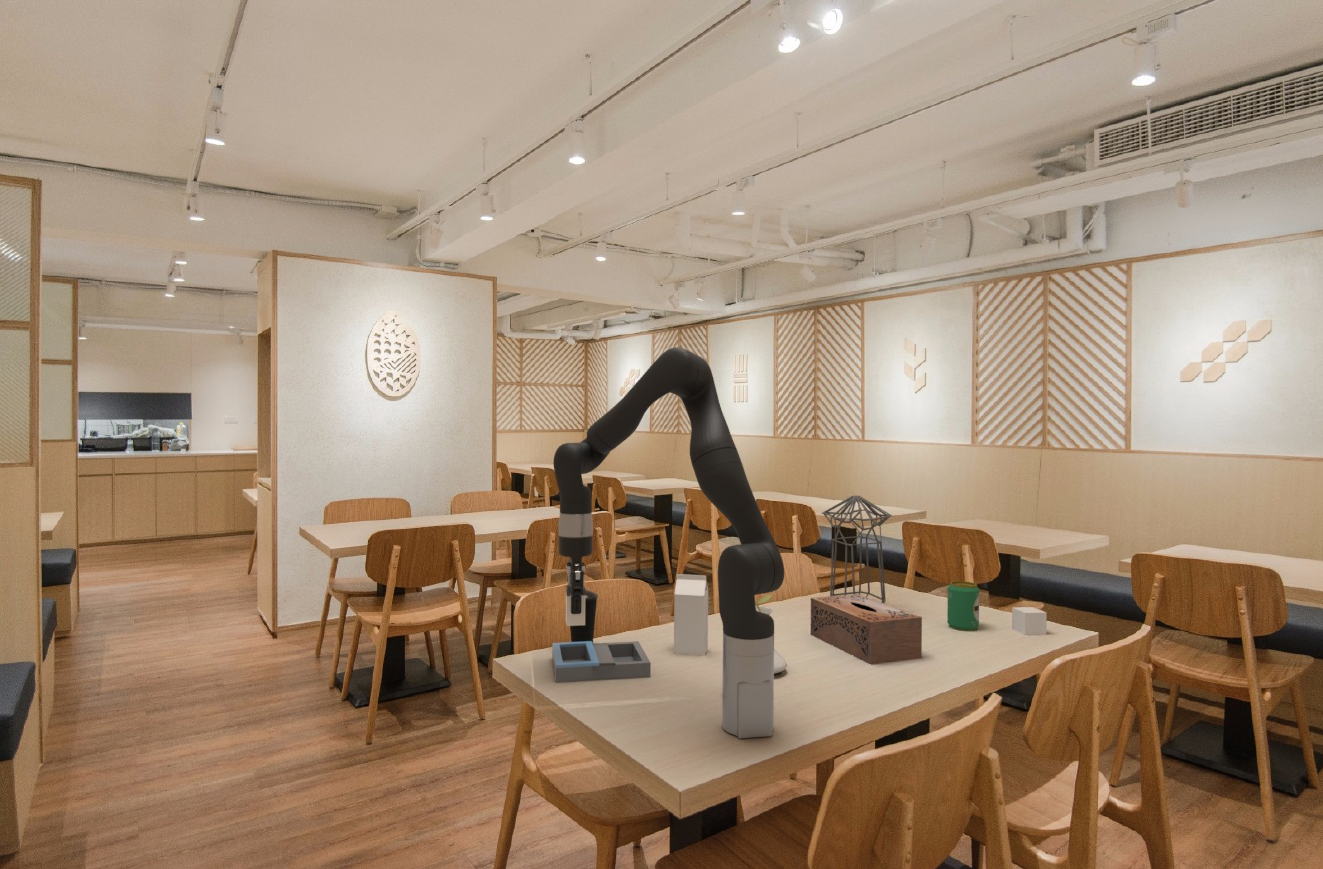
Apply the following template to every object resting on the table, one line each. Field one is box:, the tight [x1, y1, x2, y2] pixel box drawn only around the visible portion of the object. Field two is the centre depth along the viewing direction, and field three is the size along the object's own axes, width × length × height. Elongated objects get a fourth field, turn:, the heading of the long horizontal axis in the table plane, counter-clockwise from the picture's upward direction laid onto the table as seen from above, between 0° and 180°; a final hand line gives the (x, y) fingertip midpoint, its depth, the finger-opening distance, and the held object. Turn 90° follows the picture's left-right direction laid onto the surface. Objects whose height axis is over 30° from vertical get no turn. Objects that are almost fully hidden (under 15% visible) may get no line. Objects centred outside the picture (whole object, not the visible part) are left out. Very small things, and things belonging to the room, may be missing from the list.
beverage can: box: [946, 580, 980, 632], centre depth 201 cm, size 8×8×12 cm
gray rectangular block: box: [565, 584, 586, 627], centre depth 161 cm, size 4×4×8 cm
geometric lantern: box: [821, 495, 893, 604], centre depth 214 cm, size 16×16×35 cm
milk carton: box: [673, 573, 709, 656], centre depth 176 cm, size 7×7×19 cm
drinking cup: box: [569, 589, 599, 644], centre depth 177 cm, size 8×8×20 cm
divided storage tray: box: [551, 640, 652, 684], centre depth 162 cm, size 16×20×5 cm
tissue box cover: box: [810, 593, 923, 665], centre depth 183 cm, size 26×14×10 cm, turn 20°
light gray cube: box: [1011, 606, 1048, 636], centre depth 197 cm, size 6×6×6 cm
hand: (575, 610), depth 161 cm, fingers closed on gray rectangular block, 4 cm apart
